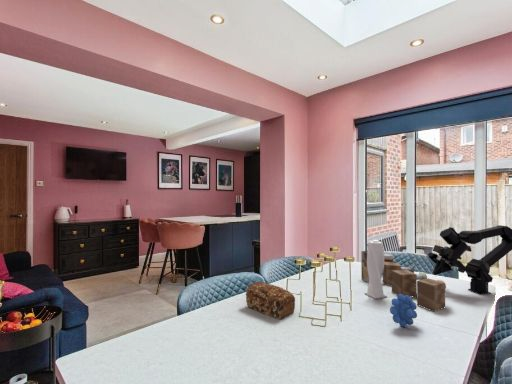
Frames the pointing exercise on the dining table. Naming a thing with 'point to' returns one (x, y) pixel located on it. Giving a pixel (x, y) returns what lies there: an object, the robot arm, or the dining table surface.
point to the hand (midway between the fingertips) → (433, 274)
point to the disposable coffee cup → (388, 257)
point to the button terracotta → (441, 281)
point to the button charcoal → (408, 268)
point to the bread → (270, 300)
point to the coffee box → (364, 266)
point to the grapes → (403, 310)
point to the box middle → (404, 282)
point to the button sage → (421, 276)
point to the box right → (431, 294)
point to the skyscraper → (375, 269)
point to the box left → (389, 272)
